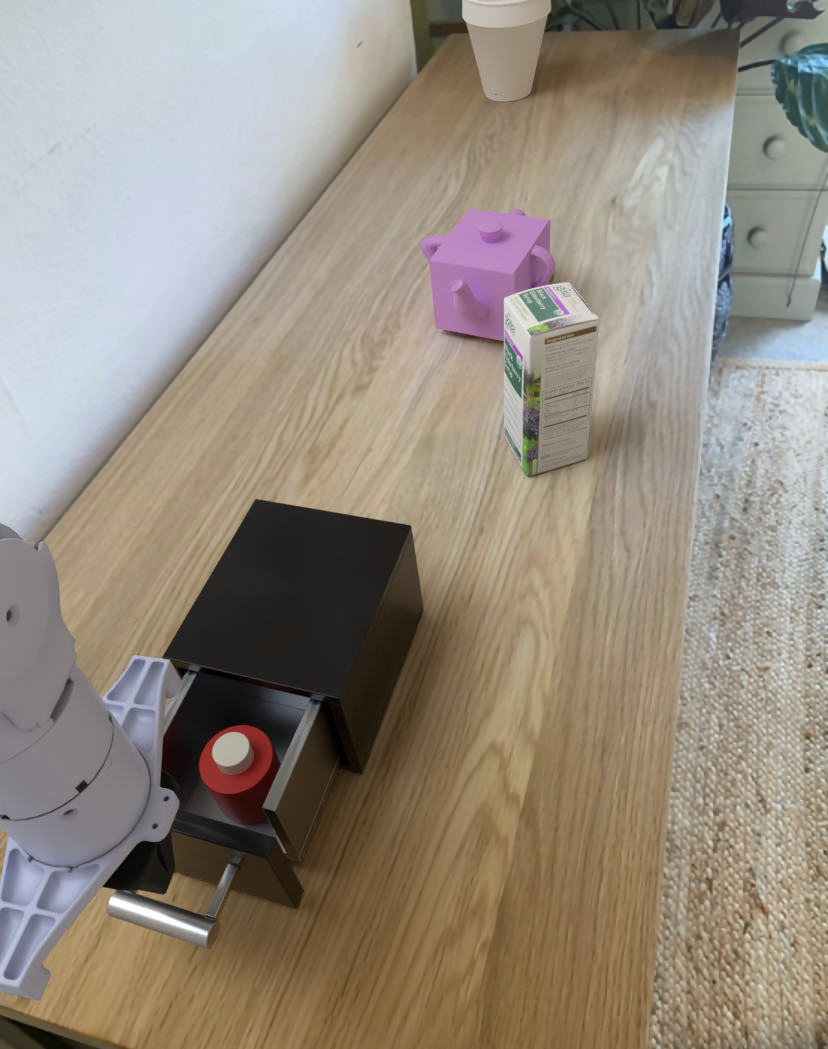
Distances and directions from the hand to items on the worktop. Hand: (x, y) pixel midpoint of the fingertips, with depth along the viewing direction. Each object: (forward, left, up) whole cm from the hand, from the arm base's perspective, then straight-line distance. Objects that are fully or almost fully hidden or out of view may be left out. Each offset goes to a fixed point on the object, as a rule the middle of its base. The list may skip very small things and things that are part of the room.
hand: (152, 877), depth 43 cm
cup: (+119, +10, -9) cm, 119 cm away
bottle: (+8, 0, -7) cm, 11 cm away
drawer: (+7, 0, -8) cm, 11 cm away
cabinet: (+19, 0, -9) cm, 21 cm away
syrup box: (+45, -11, -9) cm, 47 cm away
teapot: (+63, -1, -9) cm, 63 cm away
